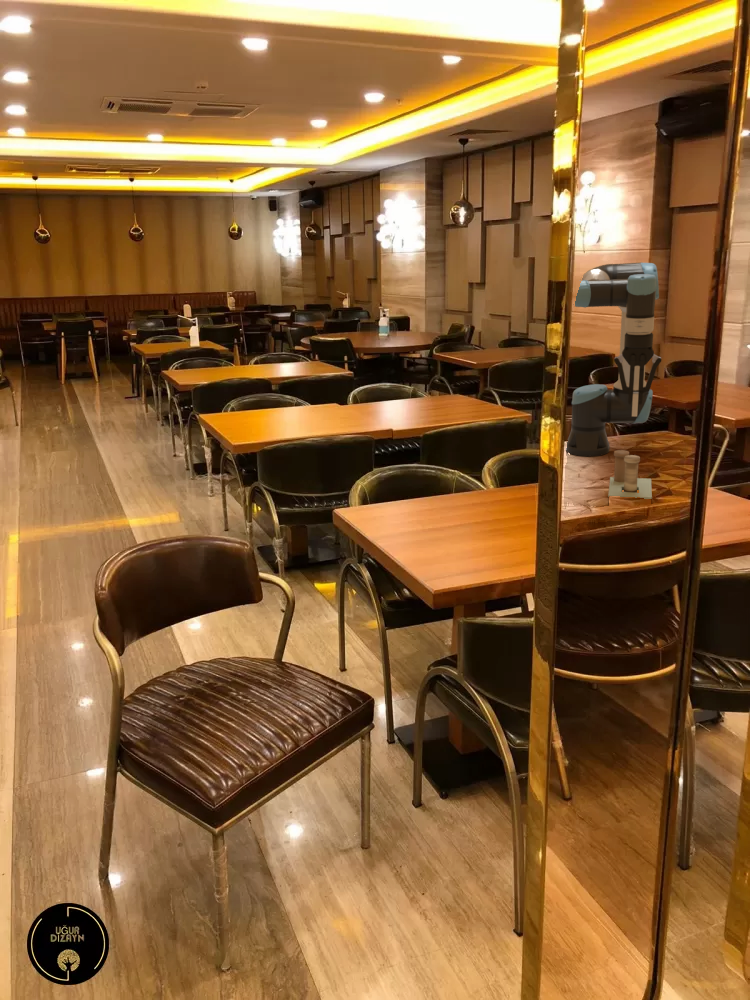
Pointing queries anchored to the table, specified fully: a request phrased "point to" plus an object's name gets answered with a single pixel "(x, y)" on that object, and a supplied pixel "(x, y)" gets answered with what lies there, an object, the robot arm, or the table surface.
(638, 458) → the peg
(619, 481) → the board
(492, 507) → the table surface
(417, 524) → the table surface
